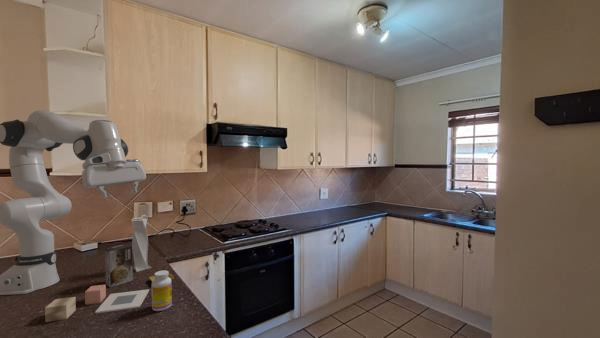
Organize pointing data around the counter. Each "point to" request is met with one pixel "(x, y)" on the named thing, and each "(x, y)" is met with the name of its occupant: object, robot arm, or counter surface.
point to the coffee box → (118, 265)
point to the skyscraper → (140, 244)
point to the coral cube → (95, 294)
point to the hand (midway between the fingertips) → (121, 195)
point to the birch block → (60, 309)
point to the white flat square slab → (123, 301)
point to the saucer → (168, 276)
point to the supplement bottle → (161, 291)
